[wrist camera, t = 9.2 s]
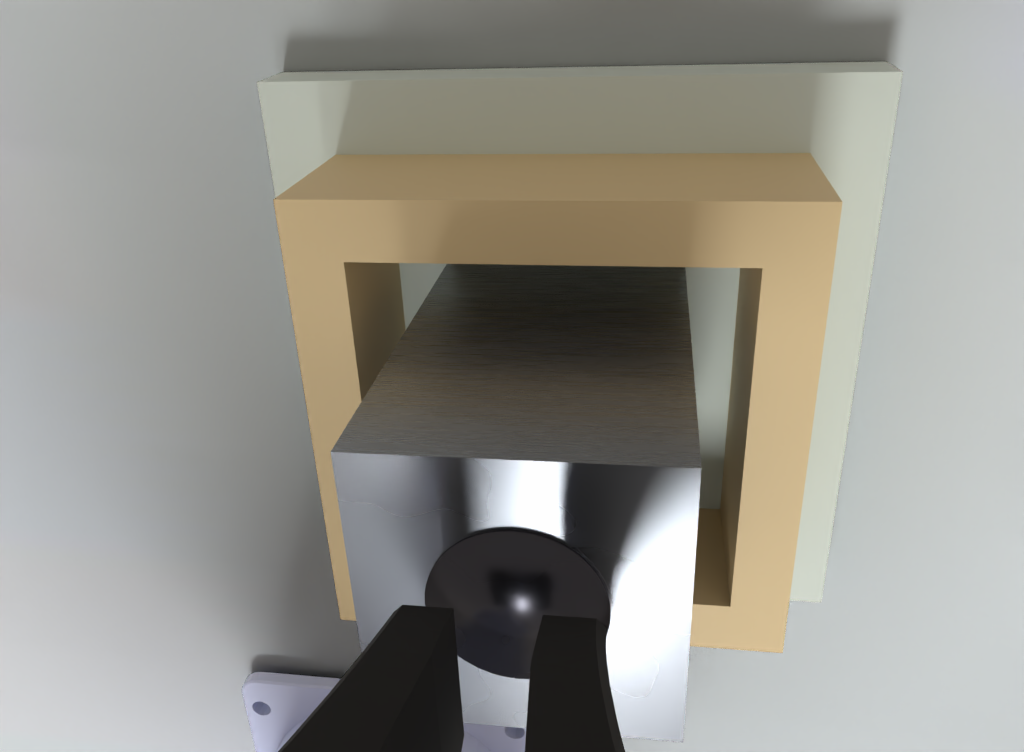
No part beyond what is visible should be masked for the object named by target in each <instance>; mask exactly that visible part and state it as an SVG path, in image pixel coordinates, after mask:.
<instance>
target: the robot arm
mask: <svg viewBox="0 0 1024 752" xmlns="http://www.w3.org/2000/svg"><path fill="white" fill-rule="evenodd" d="M242 695H243V699H244V703H245V708H246V712H247V716H248V720H249V725H250V729H251V733H252V737H253V742H254V746H255V750H256V752H625V750H624V746H623V742H622V738H621V734H620V730H619V726H618V722H617V717H616V713H615V708H614V702H613V697H612V692H611V687H610V681H609V674H608V666H607V657H606V627H605V626H604V625H603V624H602V623H601V622H600V621H599V620H598V619H594V618H580V617H567V616H553V615H543V616H542V620H541V624H540V627H539V631H538V635H537V638H536V643H535V647H534V651H533V656H532V660H531V667H530V681H529V695H528V710H527V725H526V728H516V727H505V726H493V725H482V724H471V723H463V714H462V703H461V691H460V679H459V667H458V656H457V644H456V632H455V620H454V609H453V608H442V607H428V606H415V605H401V606H400V607H399V608H398V609H397V610H395V611H394V612H393V614H392V615H391V616H390V617H389V619H388V620H387V621H386V623H385V624H384V625H383V627H382V628H381V629H380V630H379V632H378V633H377V634H376V636H375V637H374V638H373V639H372V641H371V642H370V643H369V645H368V646H367V647H366V648H365V650H364V651H363V652H362V653H361V655H360V656H359V657H358V658H357V660H356V661H355V662H354V663H353V665H352V666H351V667H350V668H349V670H348V671H347V672H346V673H345V674H344V676H343V677H342V678H341V679H339V678H328V677H316V676H304V675H293V674H281V673H269V672H254V673H252V674H250V675H249V676H248V677H247V679H246V681H245V682H244V684H243V686H242ZM263 702H264V703H263Z"/></svg>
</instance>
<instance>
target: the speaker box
mask: <svg viewBox="0 0 1024 752" xmlns="http://www.w3.org/2000/svg"><path fill="white" fill-rule="evenodd" d="M331 459H332V465H333V472H334V479H335V485H336V492H337V498H338V505H339V511H340V518H341V524H342V531H343V537H344V544H345V550H346V557H347V563H348V570H349V576H350V583H351V589H352V596H353V602H354V609H355V615H356V622H357V628H358V635H359V641H360V648H361V653H362V652H363V651H364V650H365V648H366V647H367V646H368V645H369V643H370V642H371V641H372V639H373V638H374V637H375V636H376V634H377V633H378V632H379V630H380V629H381V628H382V627H383V625H384V624H385V623H386V621H387V620H388V619H389V617H390V616H391V615H392V614H393V612H394V611H395V610H397V609H398V608H399V607H400V606H401V605H415V606H428V607H442V608H453V609H454V620H455V632H456V644H457V656H458V667H459V679H460V691H461V703H462V714H463V723H471V724H482V725H493V726H505V727H516V728H526V725H527V710H528V695H529V681H530V667H531V660H532V656H533V651H534V647H535V643H536V638H537V635H538V631H539V627H540V624H541V620H542V616H543V615H553V616H567V617H580V618H594V619H598V620H599V621H600V622H601V623H602V624H603V625H604V626H605V627H606V657H607V666H608V674H609V681H610V687H611V692H612V697H613V702H614V708H615V713H616V717H617V722H618V726H619V730H620V734H621V737H628V738H639V739H650V740H662V741H673V742H683V740H684V725H685V710H686V695H687V680H688V665H689V650H690V635H691V620H692V605H693V590H694V575H695V560H696V545H697V530H698V515H699V500H700V485H701V470H702V468H701V455H700V443H699V430H698V418H697V405H696V393H695V381H694V368H693V356H692V343H691V331H690V318H689V306H688V294H687V281H686V269H685V267H638V266H570V265H502V264H446V266H445V268H444V269H443V271H442V272H441V274H440V276H439V277H438V279H437V281H436V282H435V284H434V285H433V287H432V289H431V290H430V292H429V293H428V295H427V297H426V298H425V300H424V302H423V303H422V305H421V306H420V308H419V310H418V311H417V313H416V314H415V316H414V318H413V319H412V321H411V323H410V324H409V326H408V327H407V329H406V331H405V332H404V334H403V335H402V337H401V339H400V340H399V342H398V344H397V345H396V347H395V348H394V350H393V352H392V353H391V355H390V356H389V358H388V360H387V361H386V363H385V365H384V366H383V368H382V369H381V371H380V373H379V374H378V376H377V377H376V379H375V381H374V382H373V384H372V386H371V387H370V389H369V390H368V392H367V394H366V395H365V397H364V398H363V400H362V402H361V403H360V405H359V407H358V408H357V410H356V411H355V413H354V415H353V416H352V418H351V419H350V421H349V423H348V424H347V426H346V428H345V429H344V431H343V432H342V434H341V436H340V437H339V439H338V440H337V442H336V444H335V445H334V447H333V449H332V450H331Z"/></svg>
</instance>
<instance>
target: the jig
mask: <svg viewBox="0 0 1024 752" xmlns="http://www.w3.org/2000/svg"><path fill="white" fill-rule="evenodd" d="M902 76H903V71H901V70H900V69H898V68H896V67H895V66H893V65H891V64H890V63H888V62H886V61H879V62H823V63H767V64H711V65H655V66H599V67H543V68H487V69H431V70H375V71H319V72H281V73H278V74H276V75H273V76H271V77H268V78H266V79H263V80H261V81H258V82H257V86H258V93H259V99H260V105H261V111H262V118H263V124H264V130H265V137H266V143H267V149H268V155H269V162H270V168H271V174H272V181H273V187H274V193H275V199H273V201H274V207H275V213H276V220H277V226H278V232H279V238H280V245H281V251H282V257H283V263H284V270H285V276H286V282H287V288H288V295H289V301H290V307H291V313H292V320H293V326H294V332H295V338H296V345H297V351H298V357H299V363H300V370H301V376H302V382H303V388H304V395H305V401H306V407H307V413H308V420H309V426H310V432H311V438H312V445H313V451H314V457H315V463H316V470H317V476H318V482H319V488H320V495H321V501H322V507H323V513H324V520H325V526H326V532H327V538H328V545H329V551H330V557H331V563H332V570H333V576H334V582H335V588H336V595H337V601H338V607H339V613H340V620H353V621H356V615H355V609H354V602H353V596H352V589H351V583H350V576H349V570H348V563H347V557H346V550H345V544H344V537H343V531H342V524H341V518H340V511H339V505H338V498H337V492H336V485H335V479H334V472H333V465H332V459H331V450H332V449H333V447H334V445H335V444H336V442H337V440H338V439H339V437H340V436H341V434H342V432H343V431H344V429H345V428H346V426H347V424H348V423H349V421H350V419H351V418H352V416H353V415H354V413H355V411H356V410H357V408H358V407H359V405H360V403H361V402H362V400H363V398H364V397H365V395H366V394H367V392H368V390H369V389H370V387H371V386H372V384H373V382H374V381H375V379H376V377H377V376H378V374H379V373H380V371H381V369H382V368H383V366H384V365H385V363H386V361H387V360H388V358H389V356H390V355H391V353H392V352H393V350H394V348H395V347H396V345H397V344H398V342H399V340H400V339H401V337H402V335H403V334H404V332H405V331H406V329H407V327H408V326H409V324H410V323H411V321H412V319H413V318H414V316H415V314H416V313H417V311H418V310H419V308H420V306H421V305H422V303H423V302H424V300H425V298H426V297H427V295H428V293H429V292H430V290H431V289H432V287H433V285H434V284H435V282H436V281H437V279H438V277H439V276H440V274H441V272H442V271H443V269H444V268H445V266H446V264H502V265H570V266H638V267H685V269H686V281H687V294H688V306H689V318H690V331H691V343H692V356H693V368H694V381H695V393H696V405H697V418H698V430H699V443H700V455H701V468H702V470H701V485H700V500H699V515H698V530H697V545H696V560H695V575H694V590H693V605H692V620H691V635H690V646H696V647H710V648H723V649H736V650H749V651H762V652H776V653H783V645H784V638H785V630H786V623H787V615H788V608H789V600H790V601H805V602H820V603H821V601H822V595H823V588H824V582H825V575H826V569H827V562H828V556H829V549H830V543H831V536H832V530H833V523H834V517H835V510H836V504H837V497H838V491H839V484H840V478H841V471H842V465H843V458H844V452H845V445H846V439H847V432H848V426H849V419H850V413H851V406H852V400H853V393H854V387H855V381H856V374H857V368H858V361H859V355H860V348H861V342H862V335H863V329H864V322H865V316H866V309H867V303H868V296H869V290H870V283H871V277H872V270H873V264H874V257H875V251H876V244H877V238H878V231H879V225H880V218H881V212H882V205H883V199H884V192H885V186H886V179H887V173H888V166H889V160H890V153H891V147H892V140H893V134H894V127H895V121H896V114H897V108H898V101H899V95H900V88H901V82H902Z"/></svg>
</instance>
